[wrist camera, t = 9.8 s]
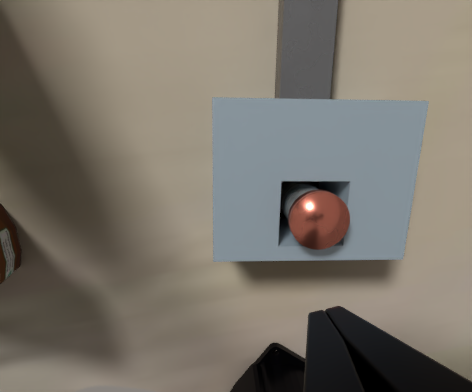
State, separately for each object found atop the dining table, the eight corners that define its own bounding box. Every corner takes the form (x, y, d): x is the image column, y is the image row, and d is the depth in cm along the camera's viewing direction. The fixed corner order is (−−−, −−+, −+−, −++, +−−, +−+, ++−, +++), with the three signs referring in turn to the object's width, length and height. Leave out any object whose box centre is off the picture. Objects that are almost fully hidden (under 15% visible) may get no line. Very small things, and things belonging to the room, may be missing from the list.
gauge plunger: (315, 217, 19) (346, 249, 14) (271, 217, 19) (288, 249, 14) (318, 173, 18) (353, 192, 14) (273, 173, 18) (292, 192, 13)
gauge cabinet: (366, 229, 20) (406, 259, 16) (215, 230, 20) (213, 261, 15) (381, 105, 18) (433, 101, 14) (214, 103, 18) (212, 97, 13)
